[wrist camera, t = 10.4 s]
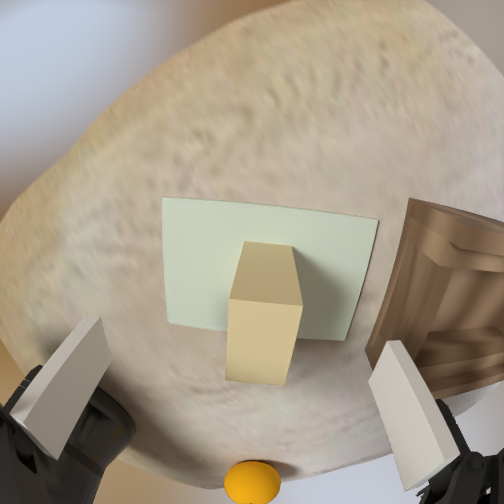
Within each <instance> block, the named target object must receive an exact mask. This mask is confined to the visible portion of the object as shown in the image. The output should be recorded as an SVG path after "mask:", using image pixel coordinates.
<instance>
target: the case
mask: <svg viewBox="0 0 504 504" xmlns="http://www.w3.org/2000/svg"><path fill="white" fill-rule="evenodd" d="M396 340H400V341H401V342H402V344H403V346H404V347H405V349H406V350H407V352H408V354H409V356H410V357H411V359H412V361H413V362H414V364H415V366H416V368H417V369H418V371H419V373H420V375H421V376H422V378H423V380H424V382H425V383H426V385H427V387H428V389H429V391H430V393H431V395H432V396H433V398H434V400H436V399H442V398H446V397H450V396H454V395H458V394H461V393H465V392H469V391H472V390H475V389H479V388H482V387H485V386H488V385H491V384H494V383H496V382H499V381H502V380H504V222H501V221H498V220H494V219H491V218H488V217H484V216H481V215H477V214H474V213H470V212H467V211H463V210H459V209H455V208H451V207H447V206H443V205H439V204H435V203H431V202H426V201H422V200H417V199H413V198H409V201H408V207H407V212H406V217H405V222H404V227H403V231H402V235H401V240H400V244H399V248H398V252H397V256H396V260H395V263H394V267H393V271H392V274H391V277H390V281H389V284H388V287H387V291H386V294H385V297H384V300H383V303H382V306H381V309H380V312H379V315H378V318H377V320H376V323H375V326H374V328H373V331H372V334H371V336H370V339H369V341H368V344H367V346H366V349H365V352H366V354H367V357H368V360H369V362H370V365H371V368H372V370H373V371H374V369H375V367H376V364H377V362H378V360H379V358H380V356H381V354H382V351H383V349H384V347H385V344H386V342H387V341H396Z"/></svg>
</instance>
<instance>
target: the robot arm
mask: <svg viewBox="0 0 504 504" xmlns="http://www.w3.org/2000/svg"><path fill="white" fill-rule="evenodd" d="M111 361H112V357H111V354H110V351H109V347H108V344H107V340H106V337H105V333H104V330H103V326H102V322H101V318H100V317H99V316H95V315H90V314H87V315H86V316H85V317H84V318H83V319H82V321H81V322H80V323H79V324H78V325H77V326H76V327H75V329H74V330H73V331H72V332H71V333H70V334H69V336H68V337H67V338H66V339H65V340H64V342H63V343H62V344H61V345H60V346H59V348H58V349H57V350H56V351H55V352H54V354H53V355H52V356H51V357H50V359H49V360H48V361H47V362H46V364H45V365H44V366H42V365H38V366H37V367H35V368H34V369H32V370H31V371H30V372H29V373H28V375H27V376H26V377H25V380H23V381H22V382H21V384H20V386H19V387H18V388H17V389H16V390H15V392H14V393H13V395H12V396H11V397H10V399H9V400H8V402H7V403H6V404H5V406H3V405H2V404H1V403H0V504H93V500H94V498H95V495H96V492H97V490H98V487H99V484H100V482H101V478H102V476H103V474H104V471H105V469H106V468H107V466H108V465H109V464H110V463H111V462H112V461H113V460H114V459H115V458H116V457H117V456H118V455H119V454H120V453H121V452H122V451H123V450H124V449H125V448H126V447H127V446H128V445H129V444H130V442H131V440H132V438H133V435H134V433H135V425H134V423H133V421H132V419H131V418H130V416H129V415H128V414H127V413H126V411H125V410H124V409H123V408H122V407H121V406H120V405H119V404H117V403H116V402H115V401H114V400H113V399H112V398H111V397H109V396H108V395H107V394H105V393H104V392H103V391H101V390H100V389H99V388H97V385H98V383H99V381H100V380H101V378H102V376H103V375H104V373H105V371H106V370H107V368H108V366H109V365H110V363H111ZM368 382H369V385H370V388H371V390H372V393H373V396H374V399H375V401H376V404H377V407H378V410H379V412H380V415H381V418H382V421H383V424H384V427H385V430H386V433H387V436H388V439H389V442H390V445H391V448H392V451H393V454H394V457H395V461H396V464H397V467H398V471H399V473H400V477H401V481H402V484H403V488H404V491H408V490H411V489H414V488H417V487H419V486H421V485H422V484H424V483H425V482H427V481H429V485H428V486H426V487H425V488H424V489H422V490H421V491H419V492H418V494H417V495H416V496H419V495H421V494H422V493H424V494H423V495H422V496H421V501H420V503H419V504H504V448H503V449H502V450H501V451H500V452H499V453H498V454H497V455H491V456H485V457H483V456H482V455H481V454H480V453H478V452H471V451H470V449H469V447H468V446H467V443H466V441H465V439H464V437H463V435H462V433H461V431H460V429H459V427H458V425H457V424H456V421H455V419H454V417H452V413H451V411H450V409H449V407H448V406H447V405H446V404H445V403H444V402H443V401H442V400H441V399H436V400H434V398H433V396H432V395H431V393H430V391H429V389H428V387H427V385H426V383H425V382H424V380H423V378H422V376H421V375H420V373H419V371H418V369H417V368H416V366H415V364H414V362H413V361H412V359H411V357H410V356H409V354H408V352H407V350H406V349H405V347H404V346H403V344H402V342H401V341H400V340H396V341H387V342H386V344H385V347H384V349H383V351H382V354H381V356H380V358H379V360H378V362H377V364H376V367H375V369H374V371H373V373H372V375H371V377H370V379H369V381H368ZM490 487H491V491H490V493H489V494H487V493H486V490H487V489H489V488H490Z"/></svg>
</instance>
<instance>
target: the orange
mask: <svg viewBox="0 0 504 504" xmlns="http://www.w3.org/2000/svg"><path fill="white" fill-rule="evenodd" d="M280 484H281V479H280V476H279V474H278V472H277V471H276V470H275V469H274V468H273V467H272V466H270V465H268V464H266V463H262V462H256V461H248V462H241V463H238V464H236V465H234V466H232V467H231V468H230V469H229V471H228V472H227V474H226V476H225V478H224V488H225V491H226V493H227V495H228V496H229V497H230V499H232V500H233V501H234V502H236V503H237V504H267V503H269V502H270V501H272V500H273V499H274V498H275V497H276V496H277V494H278V492H279V490H280Z"/></svg>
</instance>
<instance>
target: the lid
mask: <svg viewBox="0 0 504 504" xmlns="http://www.w3.org/2000/svg"><path fill="white" fill-rule="evenodd" d="M377 224H378V220H377V219H375V218H369V217H363V216H356V215H349V214H342V213H335V212H328V211H320V210H312V209H304V208H296V207H287V206H278V205H269V204H259V203H249V202H238V201H226V200H214V199H200V198H185V197H168V196H164V197H162V235H163V262H164V280H165V294H166V306H167V317H168V323H172V324H178V325H184V326H190V327H196V328H203V329H210V330H218V331H225V332H227V349H226V375H225V380H228V381H237V382H246V383H256V384H267V385H282V386H284V384H285V380H286V377H287V373H288V369H289V365H290V361H291V357H292V353H293V349H294V345H295V340H296V338H299V339H316V340H341V341H345V338H346V335H347V333H348V330H349V327H350V324H351V321H352V318H353V315H354V312H355V308H356V305H357V302H358V299H359V295H360V292H361V288H362V285H363V281H364V278H365V274H366V270H367V267H368V263H369V259H370V255H371V251H372V246H373V242H374V238H375V233H376V229H377Z"/></svg>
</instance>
